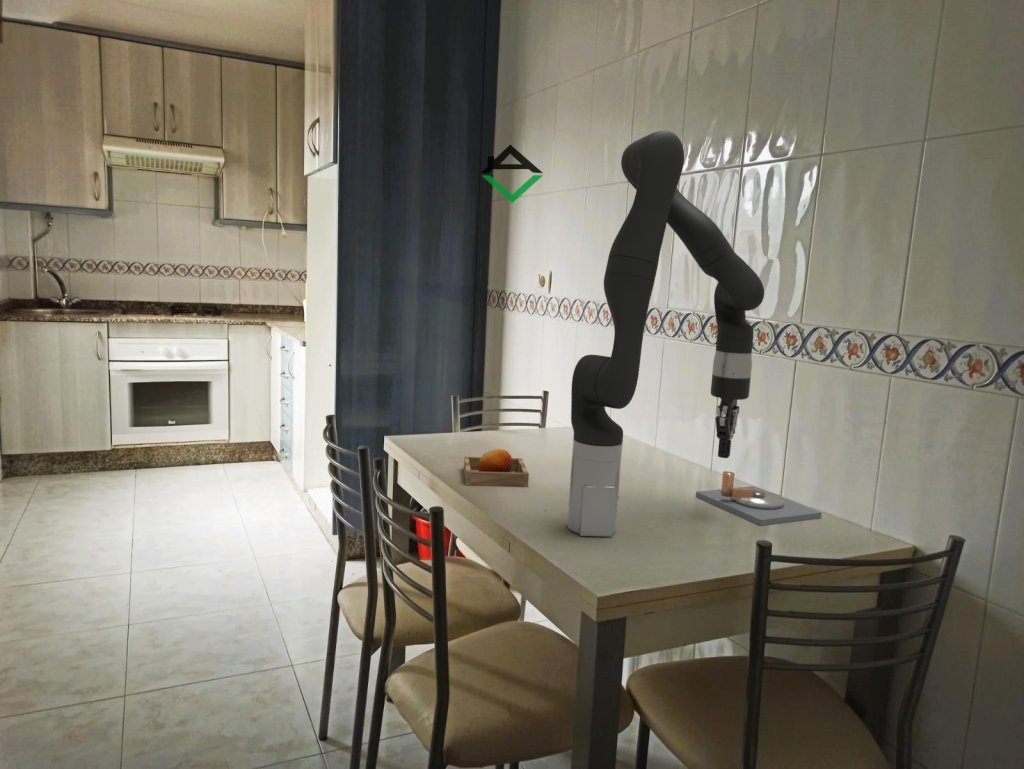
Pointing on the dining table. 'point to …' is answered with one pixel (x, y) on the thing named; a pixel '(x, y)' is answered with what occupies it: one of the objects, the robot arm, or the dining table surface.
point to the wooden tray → (495, 474)
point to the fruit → (495, 461)
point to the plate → (760, 516)
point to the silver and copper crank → (749, 495)
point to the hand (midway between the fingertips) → (723, 456)
